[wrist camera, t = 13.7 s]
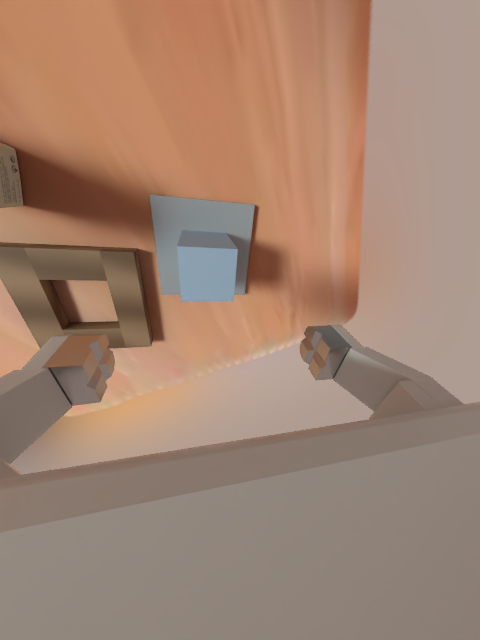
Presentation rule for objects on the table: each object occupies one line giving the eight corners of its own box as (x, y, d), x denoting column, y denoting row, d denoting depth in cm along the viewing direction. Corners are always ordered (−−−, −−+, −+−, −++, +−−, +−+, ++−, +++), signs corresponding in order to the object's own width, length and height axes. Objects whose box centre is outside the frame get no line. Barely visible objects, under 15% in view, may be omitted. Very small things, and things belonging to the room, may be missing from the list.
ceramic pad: (150, 194, 19) (149, 194, 18) (253, 204, 21) (254, 204, 20) (162, 292, 24) (161, 294, 24) (243, 292, 26) (244, 294, 26)
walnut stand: (-4, 242, 18) (-19, 246, 17) (136, 248, 21) (133, 252, 20) (49, 343, 25) (42, 351, 24) (152, 339, 27) (151, 346, 26)
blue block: (182, 230, 20) (177, 246, 15) (226, 233, 21) (237, 249, 15) (184, 273, 23) (181, 301, 17) (224, 273, 24) (233, 301, 18)
